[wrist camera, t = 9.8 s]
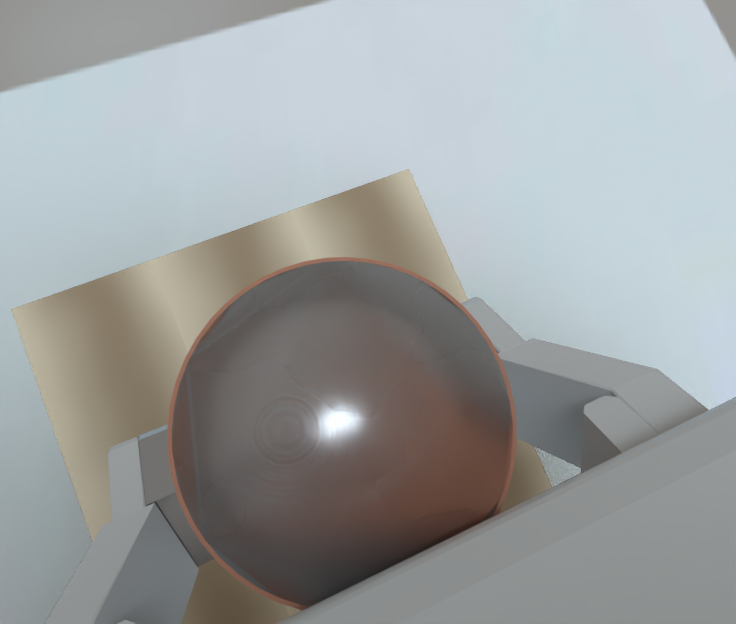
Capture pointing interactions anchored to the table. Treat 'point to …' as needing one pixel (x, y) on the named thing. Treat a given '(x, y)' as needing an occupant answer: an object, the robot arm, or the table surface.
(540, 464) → the wooden flat square block
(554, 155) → the table surface
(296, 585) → the steel peg
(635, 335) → the table surface
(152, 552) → the robot arm
